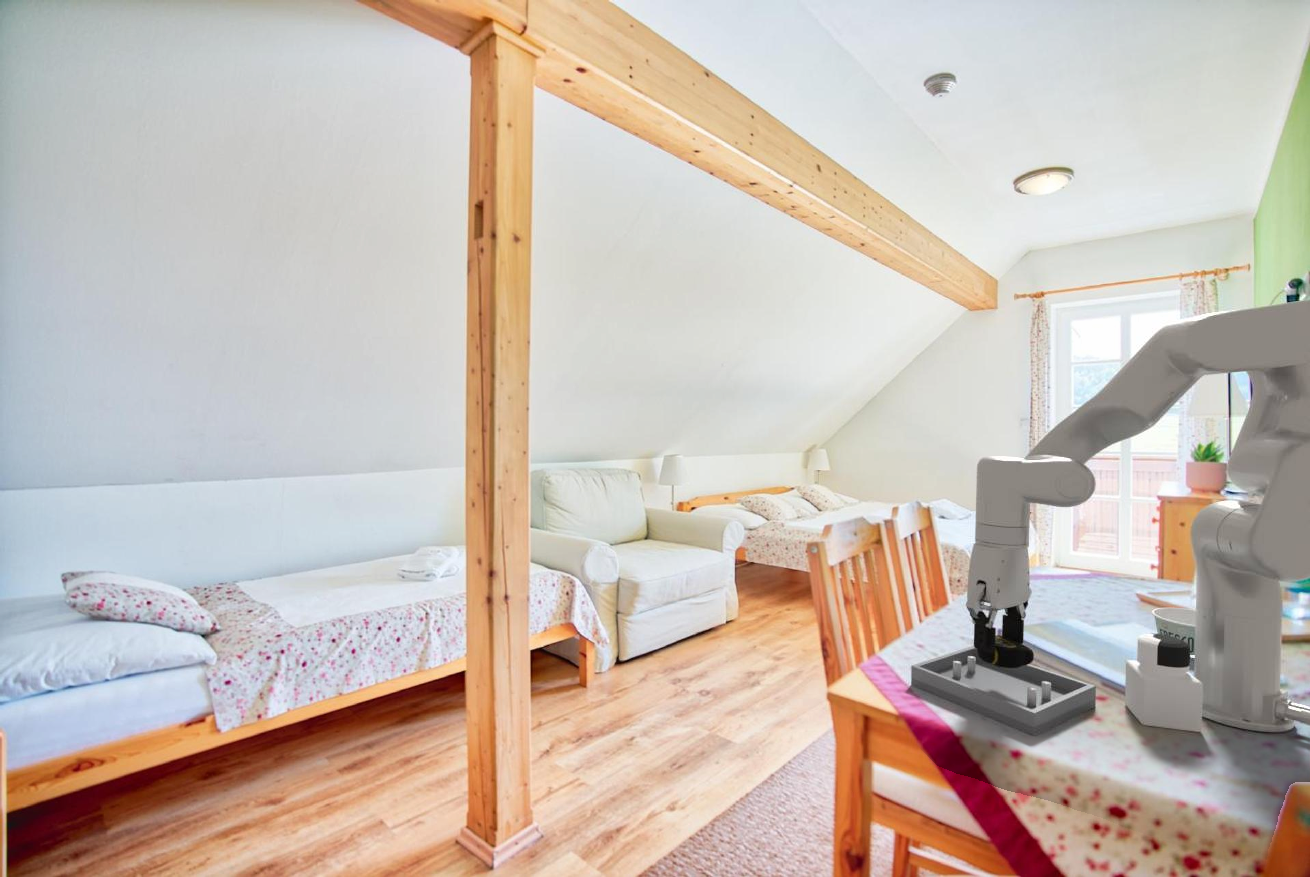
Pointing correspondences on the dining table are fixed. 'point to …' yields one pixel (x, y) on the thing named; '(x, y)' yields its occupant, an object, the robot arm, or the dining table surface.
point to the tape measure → (1007, 654)
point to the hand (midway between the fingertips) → (998, 645)
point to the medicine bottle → (1164, 684)
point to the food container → (1177, 624)
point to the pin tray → (1005, 690)
